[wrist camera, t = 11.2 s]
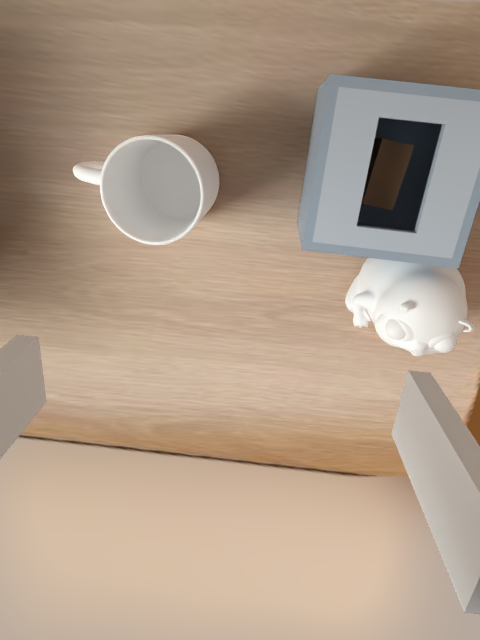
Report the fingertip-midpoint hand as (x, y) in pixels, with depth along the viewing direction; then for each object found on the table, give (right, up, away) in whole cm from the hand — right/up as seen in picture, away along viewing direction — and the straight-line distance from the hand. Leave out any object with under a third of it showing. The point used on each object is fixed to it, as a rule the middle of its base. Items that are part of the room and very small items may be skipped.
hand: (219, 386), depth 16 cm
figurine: (+17, +7, +30) cm, 35 cm away
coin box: (+13, +17, +26) cm, 33 cm away
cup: (-7, +17, +28) cm, 33 cm away
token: (+13, +16, +25) cm, 33 cm away
